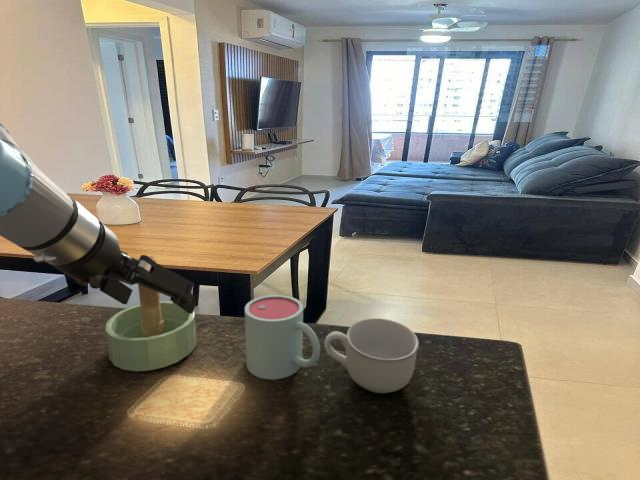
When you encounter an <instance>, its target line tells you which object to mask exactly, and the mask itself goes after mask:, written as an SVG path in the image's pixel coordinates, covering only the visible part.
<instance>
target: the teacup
mask: <svg viewBox="0 0 640 480" xmlns="http://www.w3.org/2000/svg"><path fill="white" fill-rule="evenodd" d="M334 340H338V341H340V342H341V343H342V345H343V348H344V350H345V355H344V354H342V353H340V352H338V351H337V350H335V349H334V347H333V346H332V344H331V343H332V341H334ZM419 343H420V342H419V338H418V336H417V335H416V334H415V332H414V331H413V330H411V328H410V327H408V326H406V325H404V324H402V323H400V322H398V321H395V320H392V319H388V318H373V317H372V318H365V319H362V320H359V321H355V322H354V323H352V324H351V326H350V327H349V328H348V329H347V331H346V334H345V333H343V332H341V331H336V330H335V331H332V332H329V333H328V334H327V336H326V337H325V339H324V349H325V351H326V353H327V354H328V356H329V357H331V358H332V359H334V360H335V361H337V362H338V363H340V364H341V365H342V367H343V368H344V369H345V368H346V369H347V372H348V374H349V376H350V378H351V379H352V381H353V382H355V383H356V384H357V385H358V386H359V387H361V388H363V389H364V390H367V391H368V392H371V393H376V394H388V393H393V392H397V391H400V390H401V389H404V387H406V386H407V385H408V384H409V383H410V381H411V379H412V377H413V374H414V372H415V371H414V370H415V366H416V360H417V353H418V350H419V347H420V345H419Z"/></svg>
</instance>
